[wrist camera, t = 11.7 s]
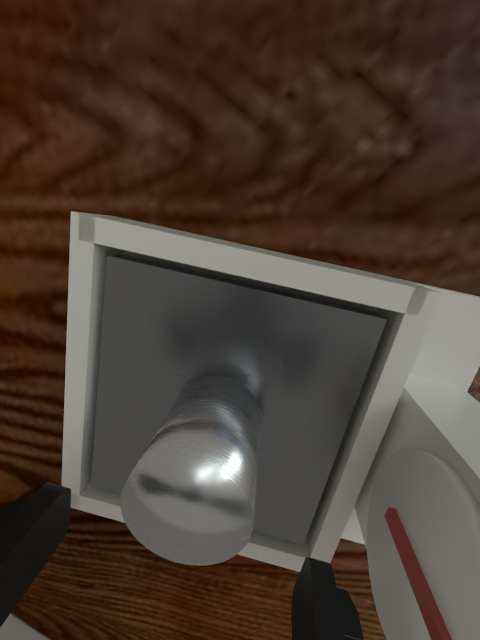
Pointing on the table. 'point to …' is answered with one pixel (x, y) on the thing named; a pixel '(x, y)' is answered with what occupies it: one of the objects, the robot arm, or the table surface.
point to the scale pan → (230, 375)
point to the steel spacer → (198, 475)
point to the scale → (361, 433)
